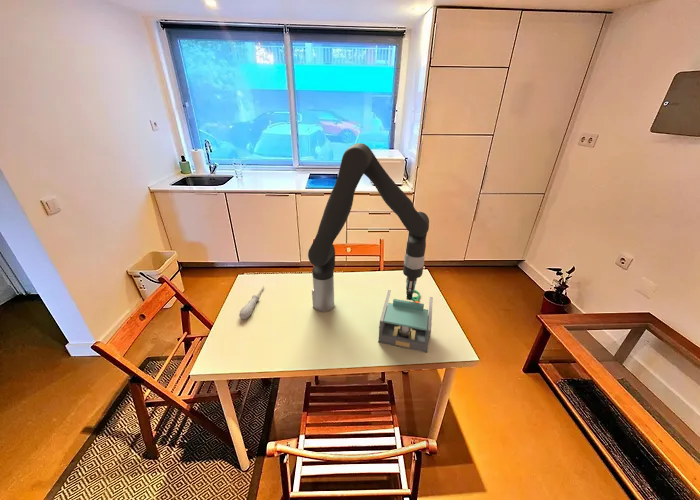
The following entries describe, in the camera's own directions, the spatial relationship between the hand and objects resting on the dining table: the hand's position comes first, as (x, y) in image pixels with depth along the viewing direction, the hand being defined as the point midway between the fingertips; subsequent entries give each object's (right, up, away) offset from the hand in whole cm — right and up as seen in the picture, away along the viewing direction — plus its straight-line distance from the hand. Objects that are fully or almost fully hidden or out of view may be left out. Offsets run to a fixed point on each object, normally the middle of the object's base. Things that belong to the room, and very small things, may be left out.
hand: (409, 298), depth 120 cm
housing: (-1, -13, +2) cm, 14 cm away
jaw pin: (-3, -15, -4) cm, 16 cm away
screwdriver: (-70, -5, +17) cm, 72 cm away
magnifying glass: (+7, -4, +19) cm, 21 cm away
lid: (-3, -6, -8) cm, 10 cm away
